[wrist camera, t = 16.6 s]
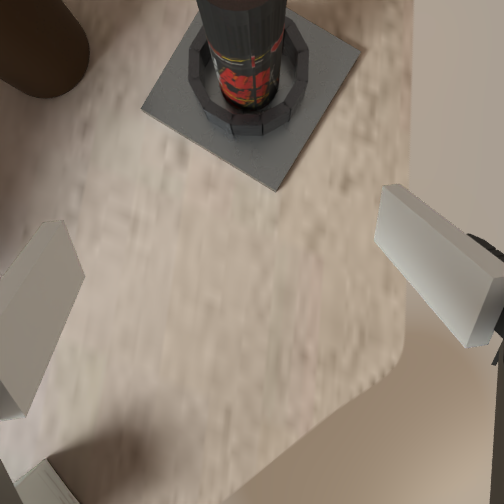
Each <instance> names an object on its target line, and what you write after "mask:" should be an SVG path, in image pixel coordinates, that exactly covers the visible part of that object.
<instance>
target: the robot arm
mask: <svg viewBox="0 0 504 504" xmlns="http://www.w3.org/2000/svg"><path fill="white" fill-rule="evenodd" d="M374 242H375V243H376V244H377V245H378V246H379V247H380V249H381V250H382V251H383V252H384V253H385V255H386V256H387V257H388V258H389V259H390V260H391V262H392V263H393V264H394V265H395V266H396V267H397V269H398V270H399V271H400V272H401V273H402V274H403V276H404V277H405V278H406V279H407V280H408V281H409V283H410V284H411V285H412V286H413V287H414V289H415V290H416V291H417V292H418V293H419V294H420V296H421V297H422V298H423V299H424V300H425V302H426V303H427V304H428V305H429V306H430V307H431V309H432V310H433V311H434V312H435V313H436V314H437V316H438V317H439V318H440V319H441V320H442V321H443V323H444V324H445V325H446V326H447V327H448V329H449V330H450V331H451V332H452V333H453V334H454V336H455V337H456V338H457V339H458V340H459V341H460V342H461V344H462V345H463V346H464V347H465V348H470V347H477V346H483V345H488V344H489V341H490V339H491V337H492V335H493V332H494V330H495V331H496V332H497V333H498V334H499V335H500V336H501V337H502V338H503V341H502V343H501V345H500V347H499V350H498V352H497V354H496V356H495V358H494V360H493V362H492V365H495V366H496V364H497V362H498V378H497V394H496V410H495V411H496V412H495V426H494V442H493V443H494V444H493V459H492V474H491V492H490V504H504V254H503V253H502V252H500V251H499V250H496V248H495V247H493V246H492V245H490V244H489V243H488V242H487V241H485V240H483V239H481V238H479V237H476V236H474V235H472V234H465V233H464V232H463V231H461V230H460V229H459V228H457V227H456V226H455V225H453V224H452V223H451V222H450V221H448V220H447V219H445V218H444V217H443V216H442V215H440V214H439V213H438V212H436V211H435V210H434V209H432V208H431V207H430V206H428V205H427V204H426V203H424V202H423V201H422V200H420V199H419V198H418V197H416V196H415V195H414V194H412V193H411V192H410V191H409V190H407V189H406V188H405V187H403V186H402V185H401V184H394V185H384V186H383V187H382V193H381V200H380V206H379V212H378V218H377V224H376V231H375V237H374ZM84 278H85V275H84V272H83V269H82V267H81V264H80V262H79V259H78V256H77V254H76V251H75V249H74V246H73V243H72V241H71V238H70V236H69V233H68V230H67V228H66V225H65V223H64V220H60V221H51V222H43V223H42V225H41V226H40V227H39V229H38V230H37V231H36V233H35V234H34V235H33V237H32V238H31V239H30V241H29V242H28V243H27V245H26V246H25V247H24V249H23V250H22V251H21V253H20V254H19V255H18V257H17V258H16V259H15V261H14V262H13V263H12V265H11V266H10V267H9V269H8V270H7V271H6V273H5V274H4V275H3V277H2V278H1V279H0V421H5V420H12V419H18V418H25V417H26V416H27V413H28V411H29V409H30V406H31V404H32V402H33V399H34V397H35V394H36V392H37V390H38V387H39V385H40V383H41V380H42V378H43V375H44V373H45V371H46V368H47V366H48V364H49V361H50V359H51V356H52V354H53V352H54V349H55V347H56V345H57V342H58V340H59V337H60V335H61V333H62V330H63V328H64V326H65V323H66V321H67V318H68V316H69V314H70V311H71V309H72V306H73V304H74V302H75V299H76V297H77V295H78V292H79V290H80V287H81V285H82V283H83V280H84ZM0 504H23V502H22V500H21V498H20V496H19V494H18V492H17V491H16V489H15V487H14V485H13V483H12V481H11V479H10V477H9V475H8V473H7V471H6V469H5V467H4V465H3V463H2V461H1V459H0Z"/></svg>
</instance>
